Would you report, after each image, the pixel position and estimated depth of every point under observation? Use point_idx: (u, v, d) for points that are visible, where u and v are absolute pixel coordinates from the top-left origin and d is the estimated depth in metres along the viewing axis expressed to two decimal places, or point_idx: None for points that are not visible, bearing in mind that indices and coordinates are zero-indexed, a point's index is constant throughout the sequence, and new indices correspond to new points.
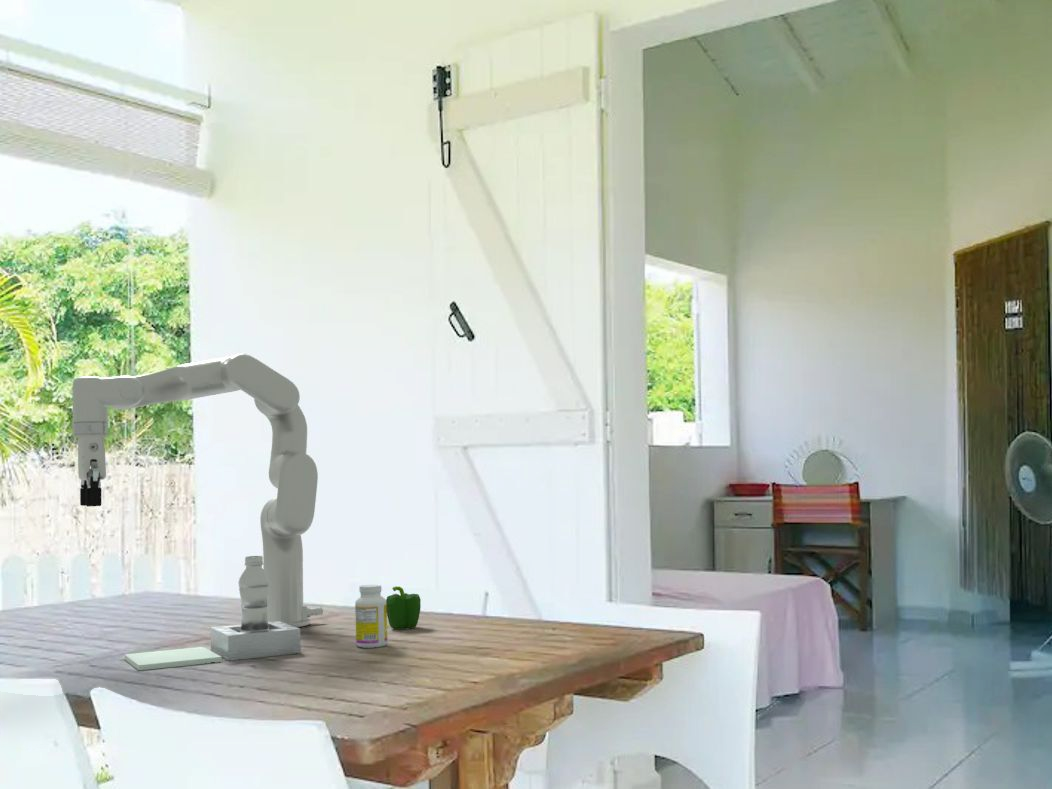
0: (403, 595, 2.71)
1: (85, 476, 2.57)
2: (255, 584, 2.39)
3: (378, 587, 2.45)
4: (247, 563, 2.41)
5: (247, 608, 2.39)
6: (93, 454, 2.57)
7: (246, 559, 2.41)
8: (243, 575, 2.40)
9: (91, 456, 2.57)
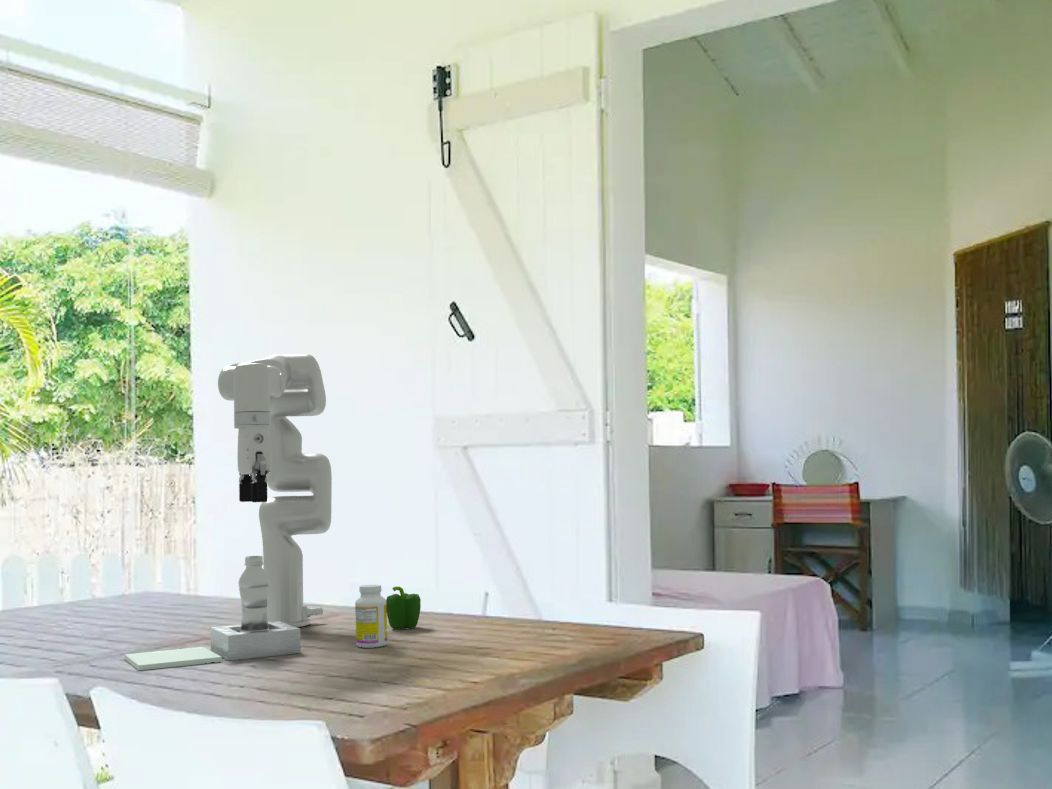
0: (403, 595, 2.71)
1: (250, 470, 2.39)
2: (255, 584, 2.39)
3: (378, 587, 2.45)
4: (247, 563, 2.41)
5: (247, 608, 2.39)
6: (258, 446, 2.39)
7: (246, 559, 2.41)
8: (243, 575, 2.40)
9: (257, 449, 2.39)
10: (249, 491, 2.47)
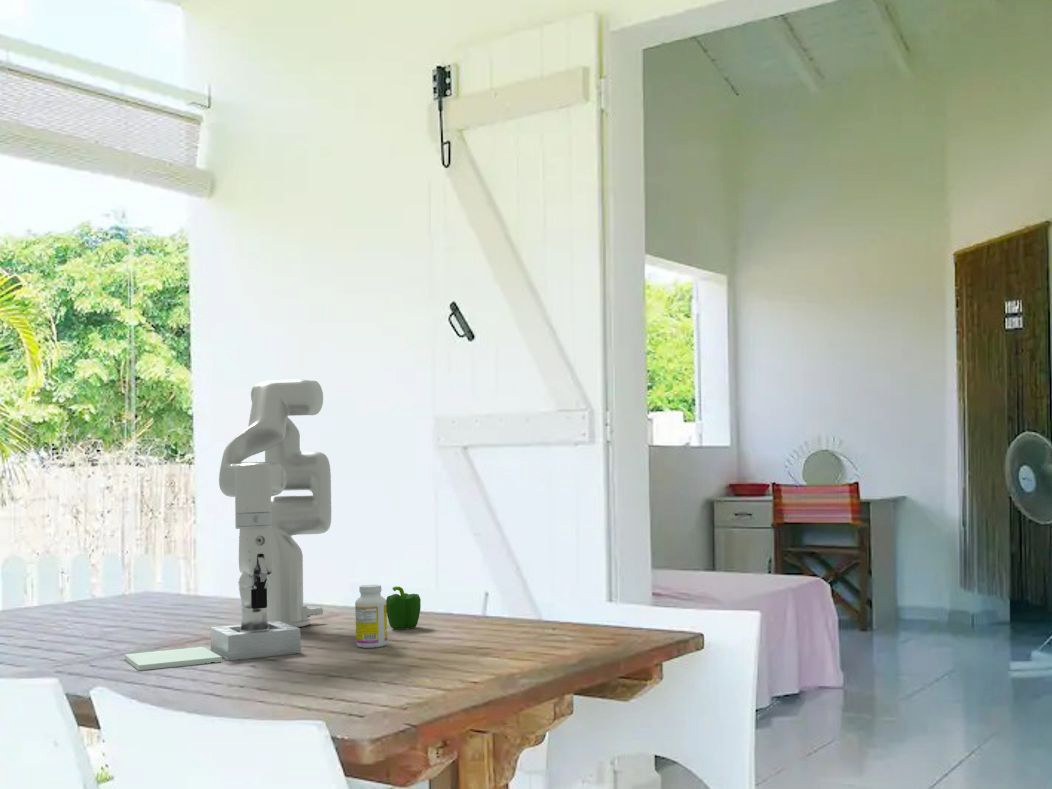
0: (403, 595, 2.71)
1: (252, 572, 2.37)
2: None
3: (378, 587, 2.45)
4: None
5: (247, 608, 2.39)
6: (260, 548, 2.38)
7: None
8: (243, 575, 2.40)
9: (258, 551, 2.38)
10: None
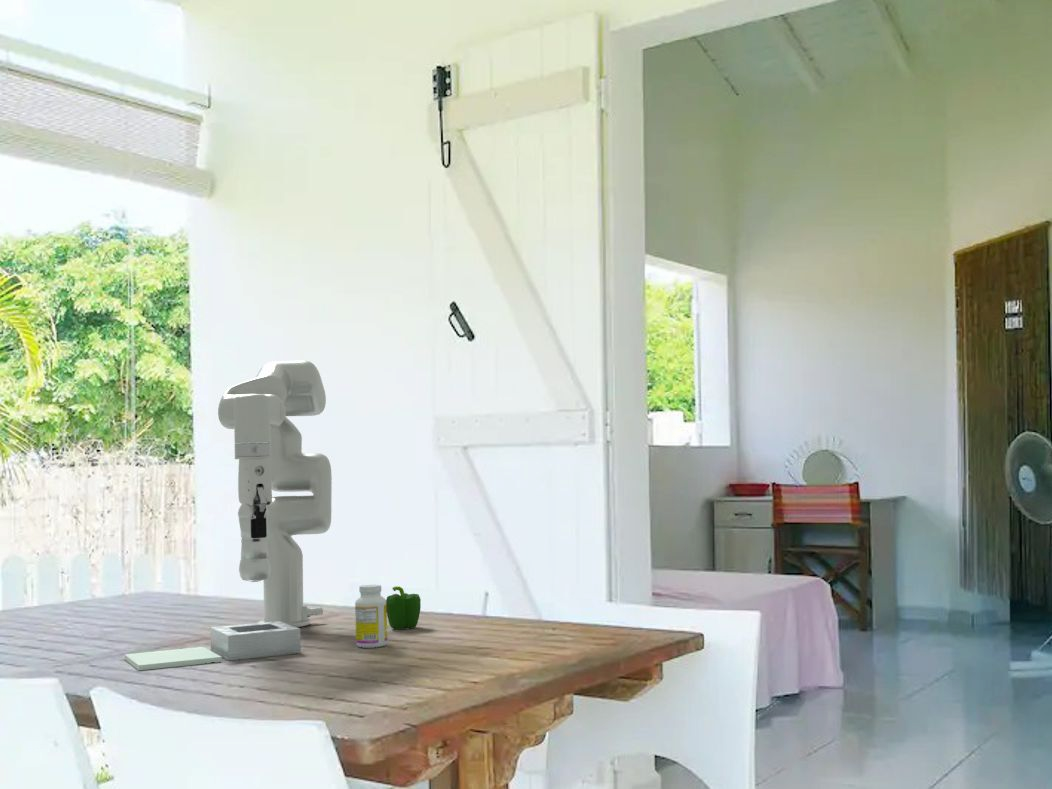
0: (403, 595, 2.71)
1: (251, 502, 2.39)
2: None
3: (378, 587, 2.45)
4: None
5: (247, 538, 2.41)
6: (259, 478, 2.39)
7: None
8: (242, 505, 2.42)
9: (257, 481, 2.39)
10: None
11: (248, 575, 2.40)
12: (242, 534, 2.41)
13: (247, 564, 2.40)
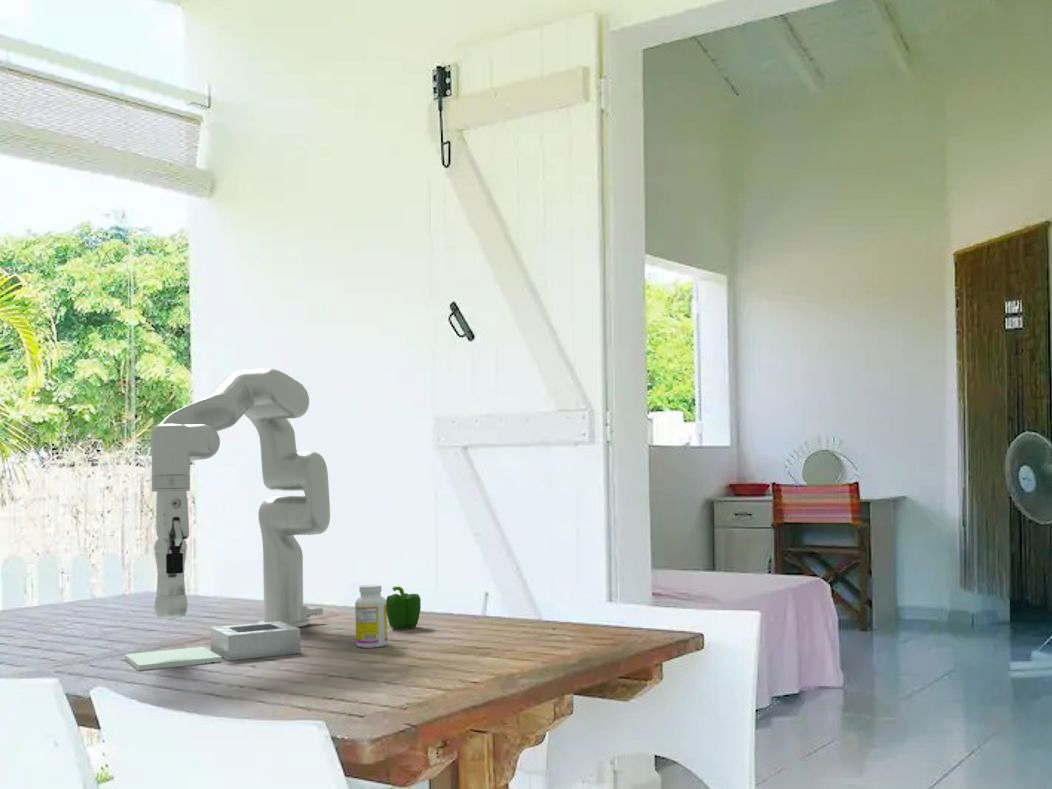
0: (403, 595, 2.71)
1: (167, 536, 2.30)
2: None
3: (378, 587, 2.45)
4: None
5: (162, 573, 2.31)
6: (175, 511, 2.30)
7: None
8: (159, 539, 2.32)
9: (173, 514, 2.30)
10: None
11: (163, 612, 2.30)
12: (158, 569, 2.32)
13: (162, 600, 2.31)
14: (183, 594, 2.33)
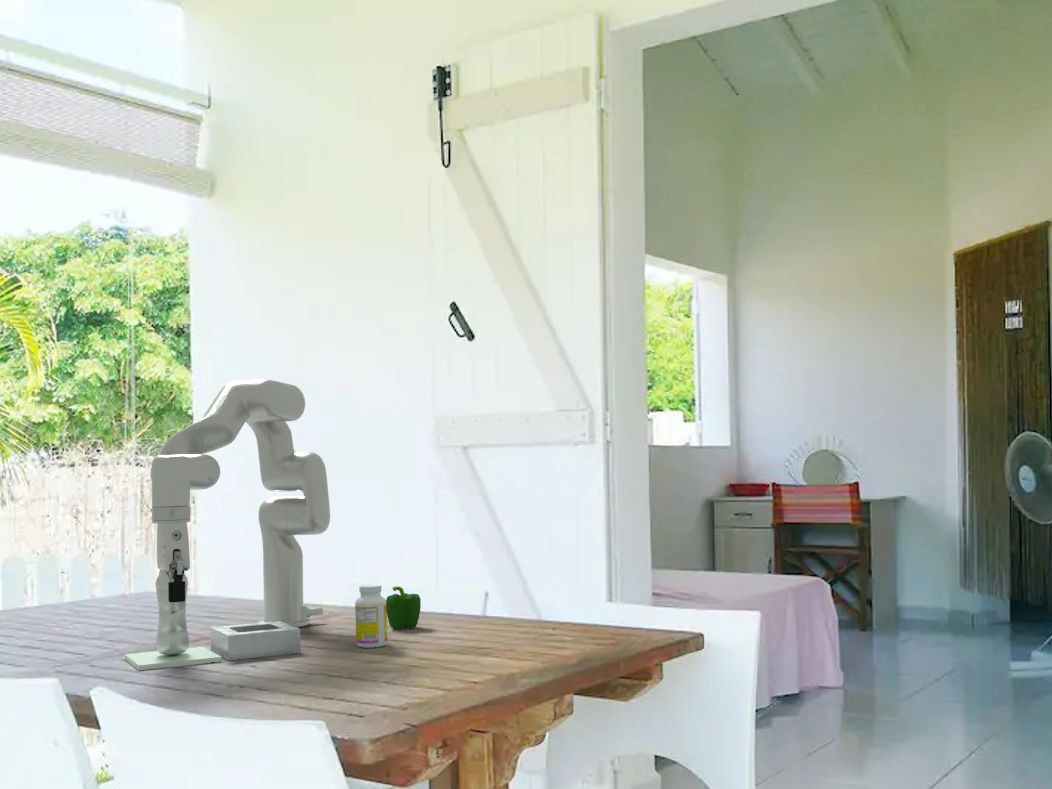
0: (403, 595, 2.71)
1: (167, 568, 2.29)
2: None
3: (378, 587, 2.45)
4: None
5: (163, 610, 2.32)
6: (176, 543, 2.30)
7: None
8: (160, 576, 2.33)
9: (174, 546, 2.30)
10: None
11: (164, 649, 2.31)
12: (159, 606, 2.32)
13: (163, 637, 2.31)
14: (184, 630, 2.33)
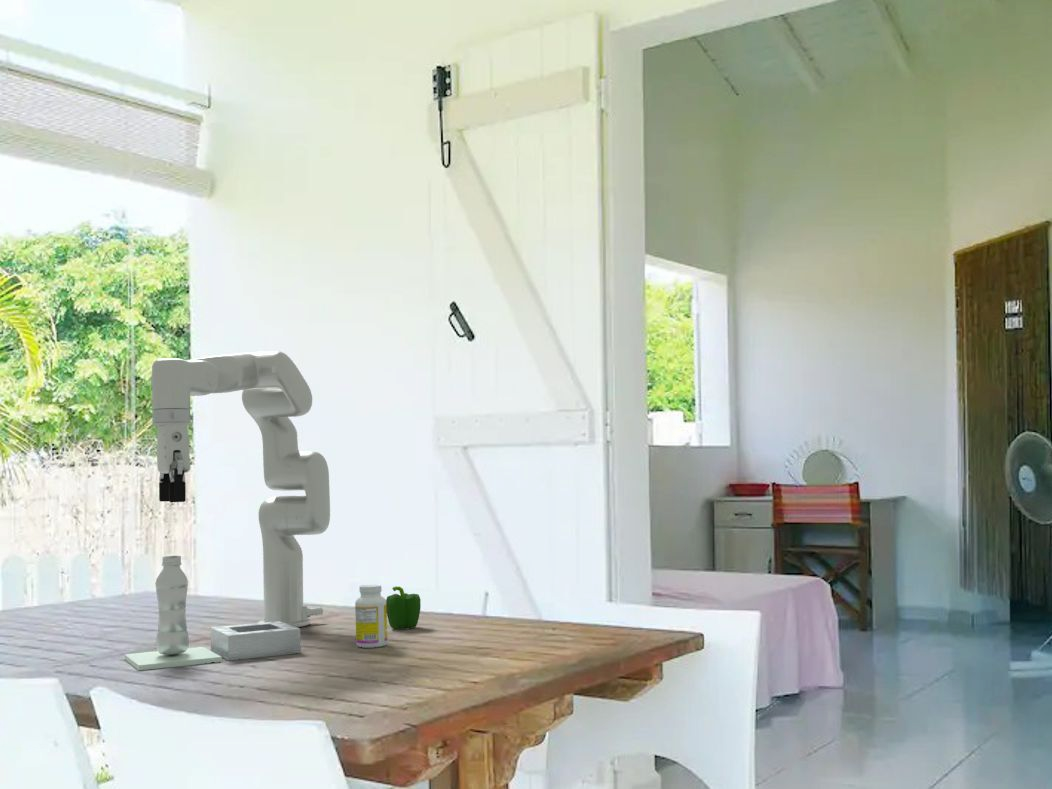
0: (403, 595, 2.71)
1: (168, 469, 2.31)
2: (171, 585, 2.32)
3: (378, 587, 2.45)
4: (164, 563, 2.33)
5: (163, 610, 2.32)
6: (176, 444, 2.32)
7: (163, 559, 2.34)
8: (160, 576, 2.33)
9: (174, 447, 2.32)
10: None
11: (164, 649, 2.31)
12: (159, 606, 2.32)
13: (163, 637, 2.31)
14: (184, 630, 2.33)
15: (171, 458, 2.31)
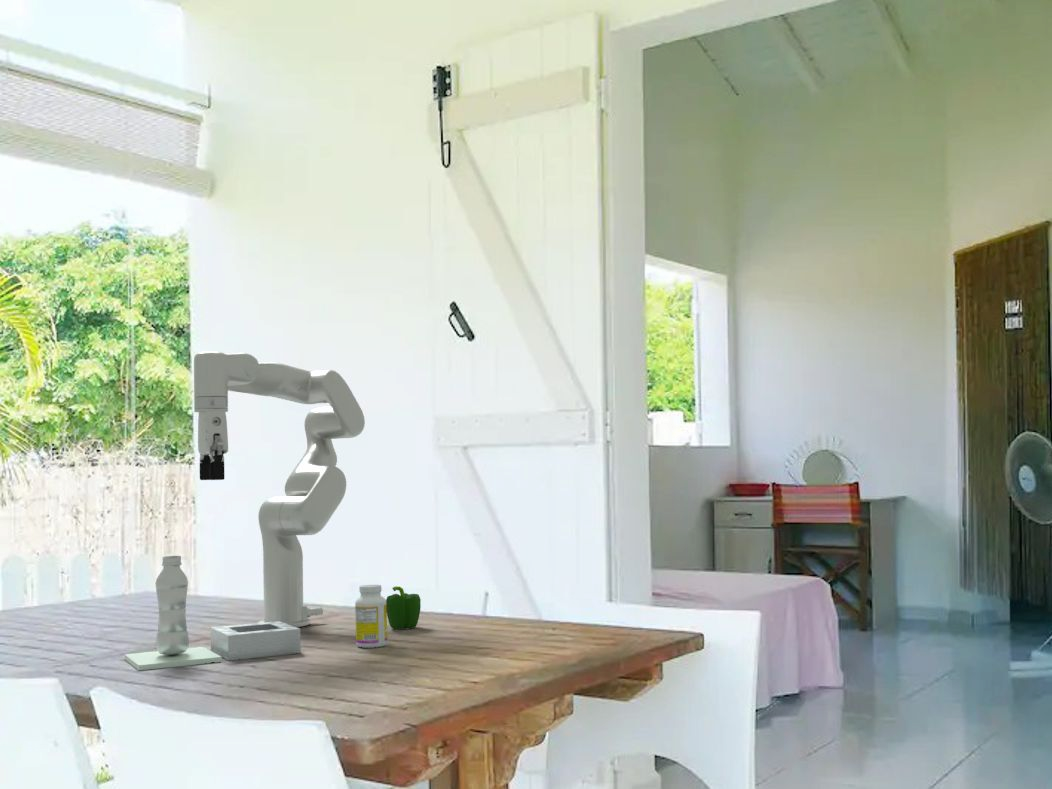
0: (403, 595, 2.71)
1: (209, 450, 2.59)
2: (171, 585, 2.32)
3: (378, 587, 2.45)
4: (164, 563, 2.33)
5: (163, 610, 2.32)
6: (216, 428, 2.59)
7: (163, 559, 2.34)
8: (160, 576, 2.33)
9: (214, 430, 2.59)
10: (209, 470, 2.67)
11: (164, 649, 2.31)
12: (159, 606, 2.32)
13: (163, 637, 2.31)
14: (184, 630, 2.33)
15: (211, 440, 2.59)
